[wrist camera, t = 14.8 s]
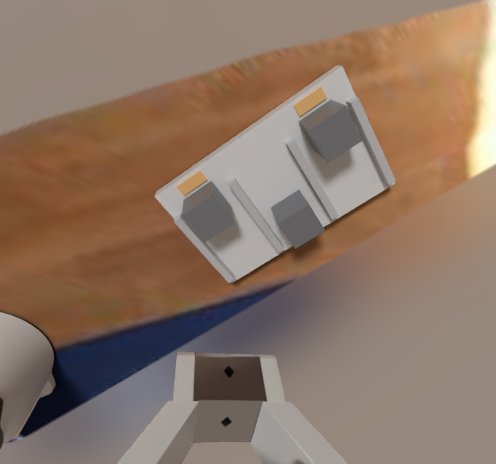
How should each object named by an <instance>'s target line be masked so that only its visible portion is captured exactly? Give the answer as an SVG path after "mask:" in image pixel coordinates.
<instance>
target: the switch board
mask: <svg viewBox="0 0 496 464" xmlns="http://www.w3.org/2000/svg"><path fill="white" fill-rule="evenodd" d="M329 100H333V101H336V102H338V103H341V104H343V105H346V106H347V108H348V111H349V113H350V115H351V117H352V119H353V121H354V123H355V125H356V127H357V130H358V132H359V134H360V136H361V138H362V140H363V141H361V142H360V143H358V144H357V145H355V146H354V147H352V148H350V149H349V150H347V151H346V152H344V153H343V154H341V155H340V156H338V157H337V158H335V159H333V160H332V161H330V162H329V163H327V162H326V161H325V160H324V159H323V158H322V157H321V156H320V155H319V154H317V153H316V152H315V150H314V148H313V146H312V145H311V143H310V141H309V139H308V138H307V136H306V134H305V132H304V130H303V129H302V127H301V125H300V123H299V121H300V120H301V119H303V118H304V117H306V116H307V115H309V114H310V113H312V112H313V111H315V110H316V109H318V108H319V107H320V106H322V105H323V104H325V103H326V102H328V101H329ZM210 181H212V182H213V183H214V184H215V186H216V187H217V188H218V190H219V191H220V192H221V193H222V195H223V196H224V197H225V199H226V200H227V201H228V203H229V204H230V205H231V207H232V212H233V218H234V224H232V225H231V226H229V227H228V228H226V229H225V230H223V231H222V232H220V233H219V234H217V235H215V236H214V237H212V238H211V239H209V240H208V241H206V242H205V243H204V241H203V240H202V239H201V238H200V237H199V236H198V234H197V233H196V232H195V231H194V230H193V229H192V228H191V226H190V225H189V224H188V223H187V222H186V221H185V220H184V218H183V217H182V208H183V200H184V199H185V198H187V197H188V196H190V195H191V194H193V193H194V192H195V191H197V190H198V189H200V188H201V187H203V186H204V185H206V184H207V183H209V182H210ZM395 181H396V180H395V178H394V176H393V174H392V172H391V169H390V167H389V165H388V163H387V160H386V158H385V156H384V154H383V152H382V149H381V147H380V145H379V143H378V140H377V138H376V136H375V134H374V132H373V129H372V127H371V125H370V123H369V120H368V118H367V116H366V114H365V111H364V109H363V107H362V105H361V103H360V100H359V98H357V97H356V96H355V93H354V91H353V89H352V87H351V85H350V82H349V80H348V78H347V76H346V73H345V71H344V69H343V67H342V66H337V65H336V66H335V67H334V68H332V69H331V70H329V71H328V72H326V73H325V74H324V75H322V76H321V77H319V78H318V79H316V80H315V81H314V82H312V83H311V84H309V85H308V86H306V87H305V88H304V89H302V90H301V91H299V92H298V93H296V94H295V95H294V96H292V97H291V98H289V99H288V100H286V101H285V102H284V103H282V104H281V105H279V106H278V107H276V108H275V109H274V110H272V111H271V112H269V113H268V114H266V115H265V116H264V117H262V118H261V119H259V120H258V121H256V122H255V123H254V124H252V125H251V126H249V127H248V128H246V129H245V130H244V131H242V132H241V133H239V134H238V135H236V136H235V137H234V138H232V139H231V140H229V141H228V142H226V143H225V144H223V145H222V146H221V147H219V148H218V149H216V150H215V151H213V152H212V153H211V154H209V155H208V156H206V157H205V158H203V159H202V160H201V161H199V162H198V163H196V164H195V165H193V166H192V167H191V168H189V169H188V170H186V171H185V172H183V173H182V174H181V175H179V176H178V177H176V178H175V179H173V180H172V181H171V182H169V183H168V184H166V185H165V186H163V187H162V188H161V189H159V190H158V191H156V194H155V198H156V199H157V200H158V201H159V202H160V203H161V205H162V206H163V207H164V208H165V209H166V210H167V211H168V212H169V214H170V215H171V216H172V217H173V218H174V222H175V224H176V225H177V226H178V227H179V228H180V229H181V230H182V231H183V233H184V234H185V235H186V236H187V237H188V238H189V239H190V240H191V242H192V243H193V244H194V245H195V246H196V247H197V248H198V249H199V250H200V252H201V253H202V254H203V255H204V256H205V257H206V258H207V259H208V261H209V262H210V263H211V264H212V265H213V266H214V267H215V268H216V270H217V271H218V272H219V273H220V274H221V275H222V276H223V277H224V279H225V280H226V281H227V282H228V283H230V282H231V283H233V282H235V281H236V280H238V279H240V278H241V277H243V276H244V275H246V274H248V273H249V272H251V271H253V270H254V269H256V268H258V267H259V266H261V265H262V264H264V263H266V262H267V261H269V260H271V259H272V258H274V257H276V256H277V255H279V254H280V253H282V252H284V251H285V250H287V249H289V248H290V247H292V246H293V245H292V244H291V242H290V241H289V239H288V238H287V236H286V235H285V234H284V232H283V231H282V229H281V228H280V226H279V225H278V223H277V221H276V219H275V216H274V214H273V212H272V209H271V207H272V206H274V205H275V204H277V203H279V202H280V201H282V200H283V199H285V198H286V197H288V196H289V195H291V194H293V193H294V192H296V191H297V190H300V192H301V193H302V195H303V196H304V197H305V199H306V200H307V202H308V203H309V205H310V206H311V208H312V210H313V211H314V213H315V215H316V216H317V218H318V219H319V221H320V223H321V224H322V226H323V227H325V226H326V225H328V224H330V223H331V222H333V221H335V220H336V219H338V218H340V217H341V216H343V215H344V214H346V213H348V212H349V211H351V210H353V209H354V208H356V207H358V206H359V205H361V204H362V203H364V202H366V201H367V200H369V199H371V198H372V197H374V196H376V195H377V194H379V193H380V192H382V191H384V190H385V189H387V188H389V187H390V186H392V185H394V184H395Z"/></svg>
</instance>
